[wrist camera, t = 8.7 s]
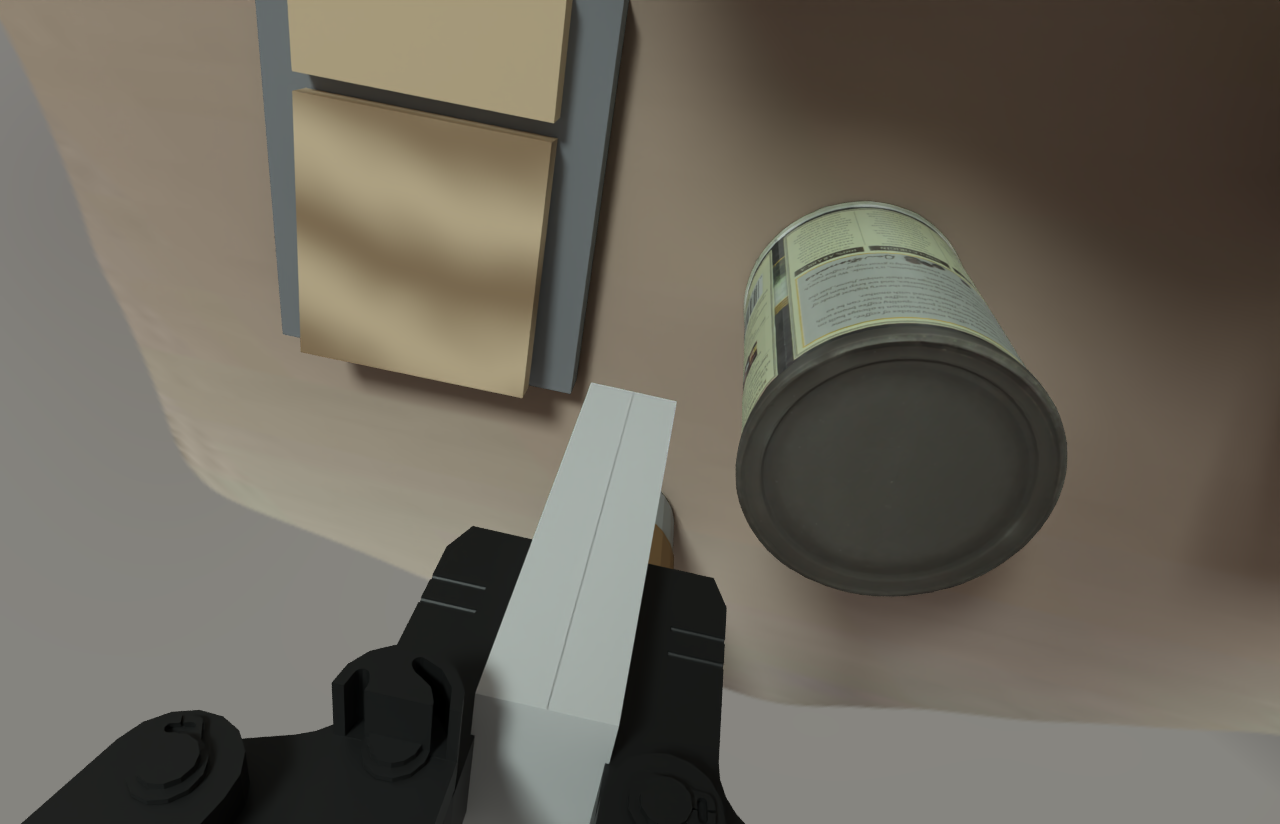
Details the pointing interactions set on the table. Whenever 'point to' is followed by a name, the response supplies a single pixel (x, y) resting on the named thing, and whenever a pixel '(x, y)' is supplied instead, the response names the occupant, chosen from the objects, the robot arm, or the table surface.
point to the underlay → (462, 114)
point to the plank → (419, 240)
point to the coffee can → (886, 410)
